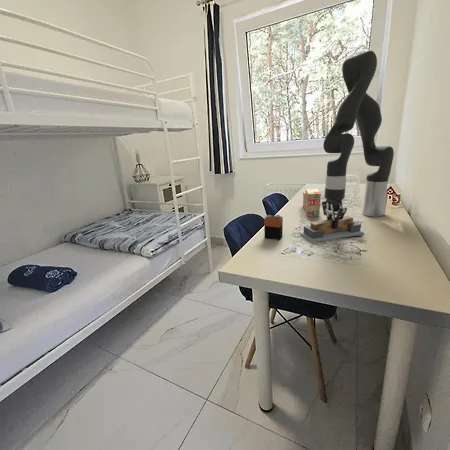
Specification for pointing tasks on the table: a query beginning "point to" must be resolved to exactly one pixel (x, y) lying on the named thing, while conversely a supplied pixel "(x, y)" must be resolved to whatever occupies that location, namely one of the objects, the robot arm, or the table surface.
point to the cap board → (319, 236)
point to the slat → (327, 225)
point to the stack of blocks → (311, 202)
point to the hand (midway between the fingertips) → (331, 227)
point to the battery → (273, 227)
